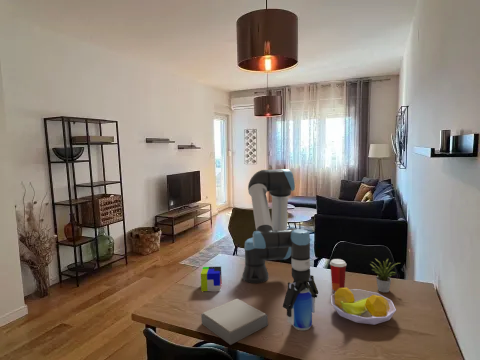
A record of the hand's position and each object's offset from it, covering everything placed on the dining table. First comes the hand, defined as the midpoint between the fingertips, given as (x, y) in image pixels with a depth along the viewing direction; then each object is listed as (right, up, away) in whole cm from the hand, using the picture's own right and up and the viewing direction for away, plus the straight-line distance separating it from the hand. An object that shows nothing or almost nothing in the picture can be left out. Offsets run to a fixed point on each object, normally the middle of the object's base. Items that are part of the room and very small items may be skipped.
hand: (301, 317), depth 129 cm
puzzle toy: (-41, -2, +40) cm, 57 cm away
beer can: (0, -4, 0) cm, 4 cm away
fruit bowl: (+27, -3, +7) cm, 28 cm away
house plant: (+50, 0, +31) cm, 59 cm away
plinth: (-28, -4, +3) cm, 29 cm away
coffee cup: (+26, 0, +33) cm, 42 cm away
